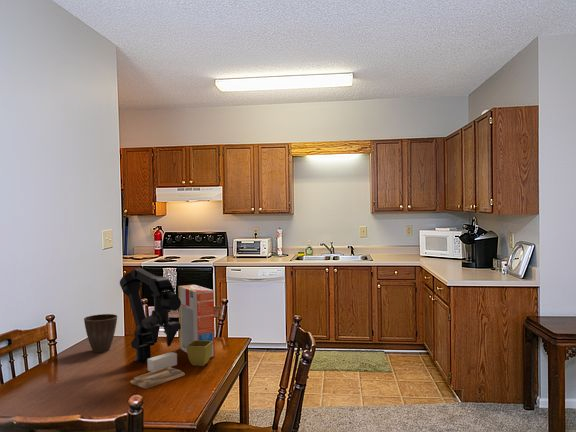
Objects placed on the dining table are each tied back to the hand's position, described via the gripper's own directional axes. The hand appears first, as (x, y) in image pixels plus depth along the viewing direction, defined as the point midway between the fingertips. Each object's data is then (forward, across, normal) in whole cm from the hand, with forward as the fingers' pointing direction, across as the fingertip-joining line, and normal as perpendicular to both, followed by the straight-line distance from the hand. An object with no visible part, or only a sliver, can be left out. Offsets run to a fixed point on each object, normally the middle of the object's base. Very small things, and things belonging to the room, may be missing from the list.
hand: (162, 344), depth 198 cm
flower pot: (+10, +10, +12) cm, 19 cm away
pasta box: (+10, -5, +23) cm, 25 cm away
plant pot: (+10, -46, -1) cm, 47 cm away
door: (+10, 0, 0) cm, 10 cm away
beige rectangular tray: (+10, +11, -10) cm, 17 cm away
